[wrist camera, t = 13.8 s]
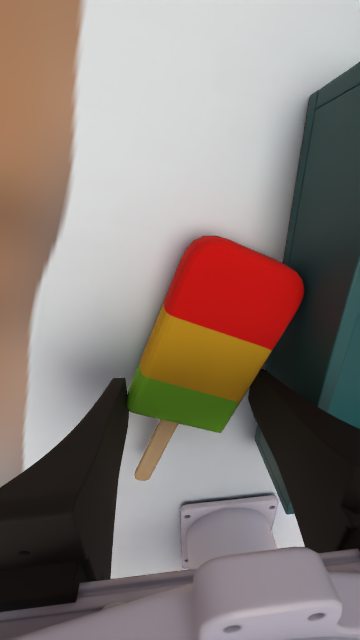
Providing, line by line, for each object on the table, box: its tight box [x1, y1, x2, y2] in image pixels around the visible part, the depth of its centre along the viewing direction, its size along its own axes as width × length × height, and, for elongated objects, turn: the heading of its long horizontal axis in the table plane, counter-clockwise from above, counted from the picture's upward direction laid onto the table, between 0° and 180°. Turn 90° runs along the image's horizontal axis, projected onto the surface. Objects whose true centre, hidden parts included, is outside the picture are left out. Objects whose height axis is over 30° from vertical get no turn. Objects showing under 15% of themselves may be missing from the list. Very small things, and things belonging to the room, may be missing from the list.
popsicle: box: [127, 236, 305, 481], centre depth 13 cm, size 6×15×2 cm, turn 158°
